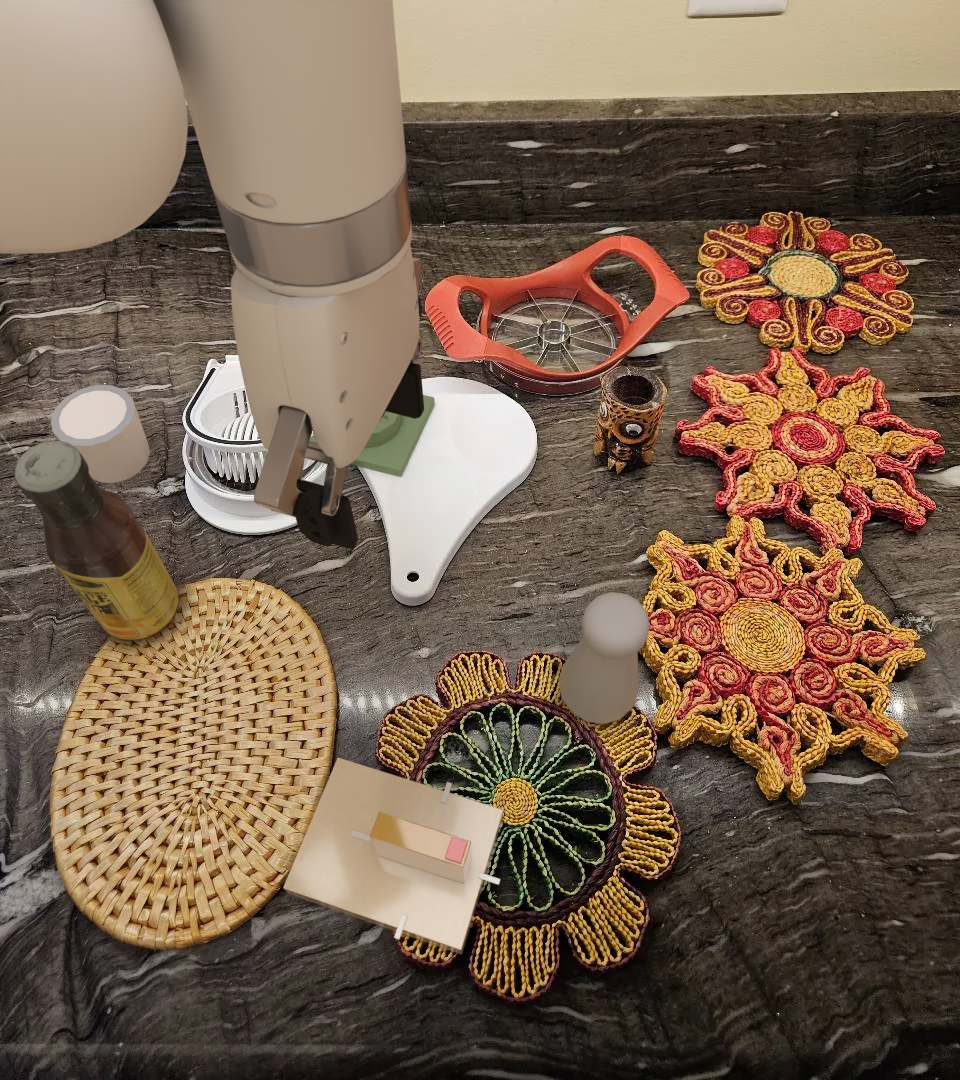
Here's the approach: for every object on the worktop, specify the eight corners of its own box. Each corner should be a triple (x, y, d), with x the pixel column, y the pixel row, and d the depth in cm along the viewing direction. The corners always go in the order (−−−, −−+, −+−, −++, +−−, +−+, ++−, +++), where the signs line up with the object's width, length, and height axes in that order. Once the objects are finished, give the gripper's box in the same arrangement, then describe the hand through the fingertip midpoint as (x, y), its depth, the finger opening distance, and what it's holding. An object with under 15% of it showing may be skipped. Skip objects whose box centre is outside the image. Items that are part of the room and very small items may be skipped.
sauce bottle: (91, 615, 69) (-33, 459, 53) (157, 568, 72) (59, 405, 55) (136, 667, 67) (21, 521, 50) (202, 617, 69) (114, 461, 52)
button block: (299, 459, 78) (290, 430, 75) (337, 389, 83) (331, 359, 79) (402, 485, 76) (398, 457, 73) (435, 413, 81) (433, 383, 78)
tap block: (287, 906, 57) (278, 896, 54) (346, 763, 62) (340, 748, 60) (475, 973, 55) (475, 966, 52) (520, 818, 60) (521, 805, 57)
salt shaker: (553, 728, 64) (567, 650, 53) (559, 659, 67) (574, 571, 56) (632, 738, 63) (663, 662, 52) (635, 668, 66) (664, 582, 56)
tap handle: (376, 855, 56) (368, 835, 52) (385, 831, 57) (378, 810, 53) (464, 884, 55) (463, 866, 51) (472, 859, 56) (471, 840, 52)
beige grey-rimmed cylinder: (85, 442, 79) (53, 389, 73) (161, 432, 80) (136, 378, 74) (79, 501, 75) (46, 450, 70) (159, 490, 76) (132, 438, 70)
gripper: (322, 81, 40) (365, 353, 54) (118, 328, 31) (234, 576, 45) (475, 109, 38) (477, 381, 53) (308, 377, 29) (366, 616, 44)
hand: (365, 470), depth 49 cm, fingers open, 9 cm apart
